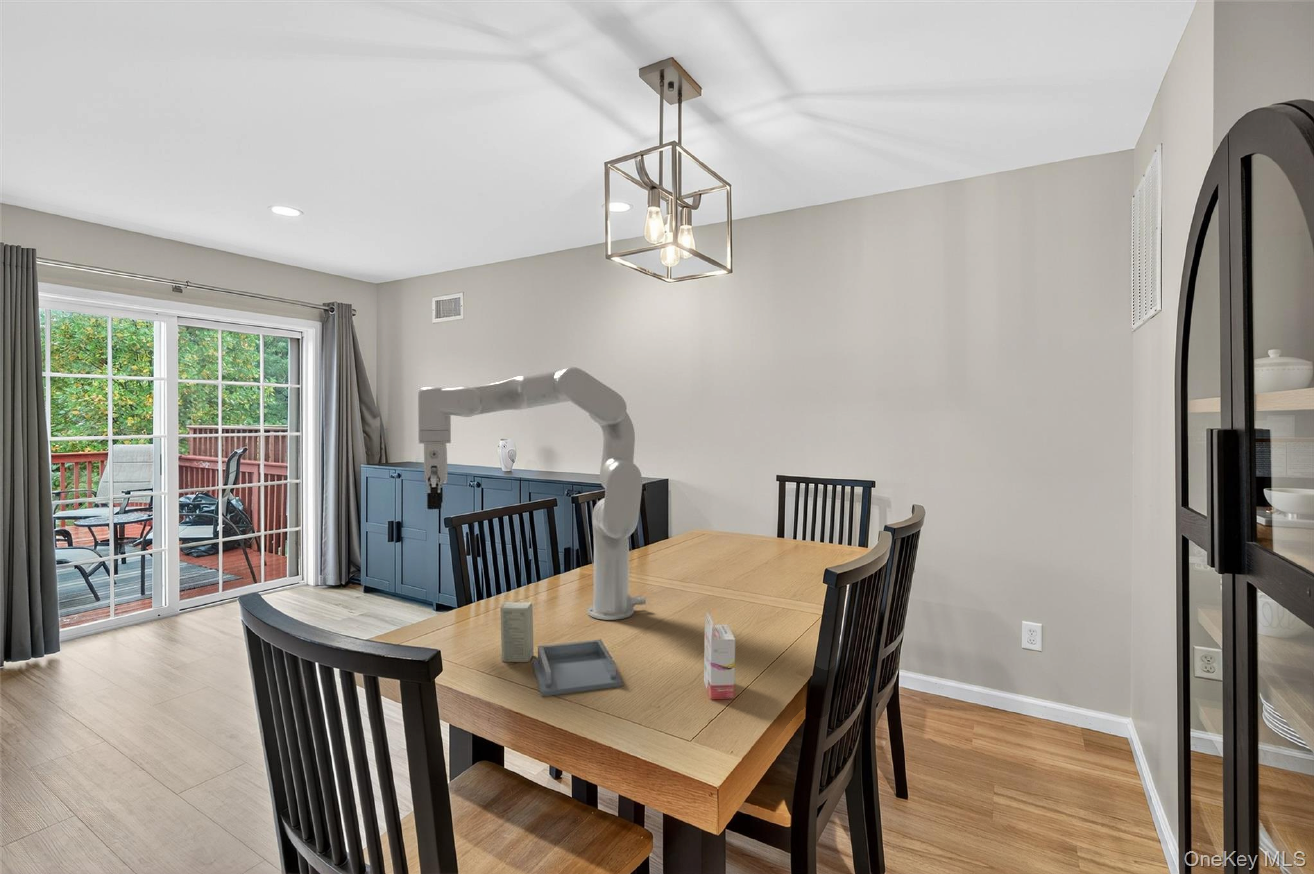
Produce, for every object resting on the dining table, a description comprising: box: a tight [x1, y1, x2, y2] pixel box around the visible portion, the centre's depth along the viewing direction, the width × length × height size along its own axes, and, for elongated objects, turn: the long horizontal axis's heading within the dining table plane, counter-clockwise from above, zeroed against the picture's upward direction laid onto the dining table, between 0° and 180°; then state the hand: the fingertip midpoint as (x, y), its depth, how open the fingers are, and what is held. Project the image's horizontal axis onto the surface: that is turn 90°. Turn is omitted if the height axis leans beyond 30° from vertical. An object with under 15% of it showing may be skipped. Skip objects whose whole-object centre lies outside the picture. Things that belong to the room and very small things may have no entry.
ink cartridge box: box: [703, 611, 736, 700], centre depth 121 cm, size 9×5×15 cm, turn 5°
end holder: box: [532, 639, 623, 697], centre depth 128 cm, size 16×16×4 cm
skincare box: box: [499, 601, 534, 663], centre depth 136 cm, size 6×4×12 cm
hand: (435, 505), depth 152 cm, fingers open, 9 cm apart
